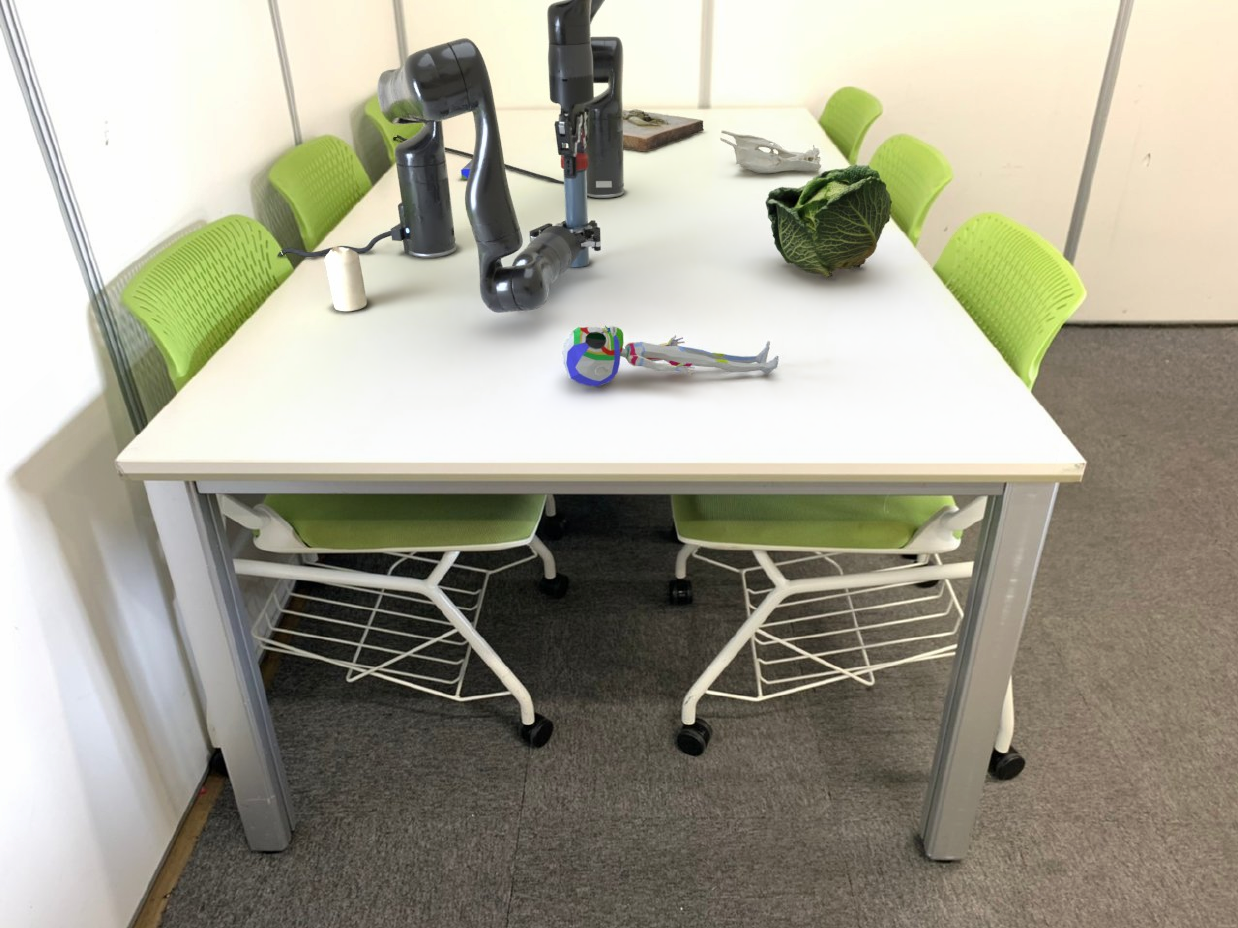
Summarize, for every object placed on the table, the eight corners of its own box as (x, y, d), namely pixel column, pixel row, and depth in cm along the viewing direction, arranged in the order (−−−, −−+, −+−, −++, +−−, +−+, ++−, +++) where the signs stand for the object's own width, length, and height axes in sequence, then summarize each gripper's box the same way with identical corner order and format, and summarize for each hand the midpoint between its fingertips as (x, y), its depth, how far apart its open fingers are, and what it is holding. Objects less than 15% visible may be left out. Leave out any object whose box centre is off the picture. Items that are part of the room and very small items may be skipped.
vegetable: (790, 294, 172) (743, 202, 165) (870, 239, 174) (827, 145, 166) (841, 308, 154) (791, 205, 146) (931, 246, 155) (886, 140, 148)
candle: (373, 301, 154) (363, 244, 149) (355, 313, 150) (344, 255, 145) (346, 297, 156) (335, 241, 150) (327, 309, 151) (316, 252, 146)
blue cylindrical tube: (566, 267, 168) (561, 162, 158) (569, 259, 171) (564, 157, 161) (588, 267, 167) (584, 162, 157) (590, 260, 171) (586, 157, 161)
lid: (589, 170, 158) (589, 158, 157) (562, 171, 157) (561, 159, 156) (586, 163, 162) (586, 152, 161) (559, 164, 162) (559, 153, 160)
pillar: (489, 151, 236) (469, 170, 219) (489, 159, 237) (470, 179, 220) (481, 151, 236) (460, 170, 220) (481, 159, 237) (461, 179, 221)
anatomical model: (722, 127, 227) (822, 125, 223) (721, 164, 232) (819, 163, 228) (719, 141, 215) (824, 139, 211) (718, 179, 220) (821, 179, 216)
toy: (785, 354, 123) (568, 337, 118) (772, 408, 127) (562, 393, 123) (768, 325, 132) (564, 307, 127) (755, 376, 136) (559, 361, 131)
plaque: (647, 125, 237) (559, 112, 252) (647, 153, 241) (560, 139, 256) (706, 107, 258) (622, 97, 273) (705, 133, 262) (622, 121, 277)
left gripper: (588, 236, 150) (617, 207, 164) (510, 230, 154) (545, 202, 168) (590, 279, 154) (618, 247, 168) (513, 271, 158) (547, 241, 172)
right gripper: (561, 64, 158) (566, 163, 167) (536, 78, 146) (542, 184, 155) (603, 65, 156) (605, 165, 166) (580, 79, 145) (584, 186, 154)
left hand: (581, 224), depth 168 cm, fingers closed on blue cylindrical tube, 4 cm apart
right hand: (574, 173), depth 160 cm, fingers closed on lid, 4 cm apart
